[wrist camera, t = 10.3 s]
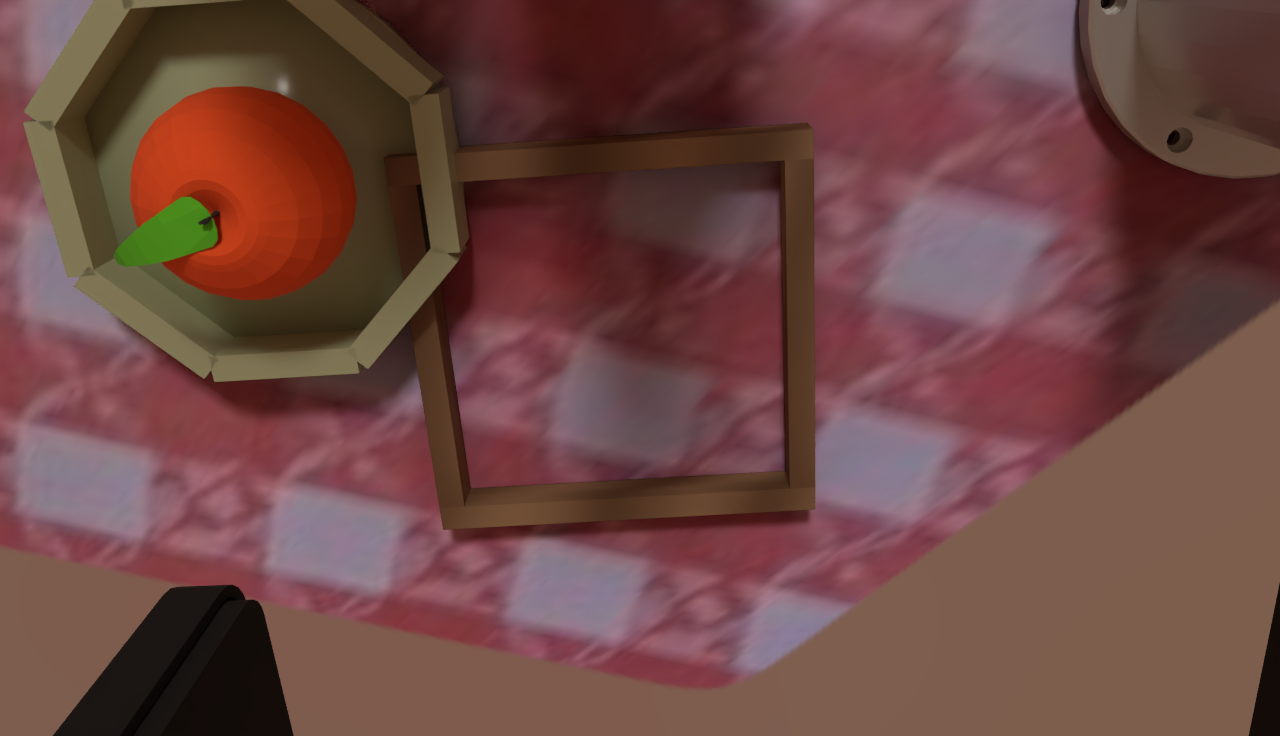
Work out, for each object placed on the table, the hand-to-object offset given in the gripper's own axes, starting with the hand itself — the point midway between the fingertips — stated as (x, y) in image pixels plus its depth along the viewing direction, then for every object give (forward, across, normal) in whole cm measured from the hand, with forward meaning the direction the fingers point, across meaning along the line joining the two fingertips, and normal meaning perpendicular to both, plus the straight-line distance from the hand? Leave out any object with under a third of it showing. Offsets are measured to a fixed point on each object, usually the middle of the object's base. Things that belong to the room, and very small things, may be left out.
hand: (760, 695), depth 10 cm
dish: (+30, +16, 0) cm, 33 cm away
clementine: (+29, +15, 0) cm, 33 cm away
